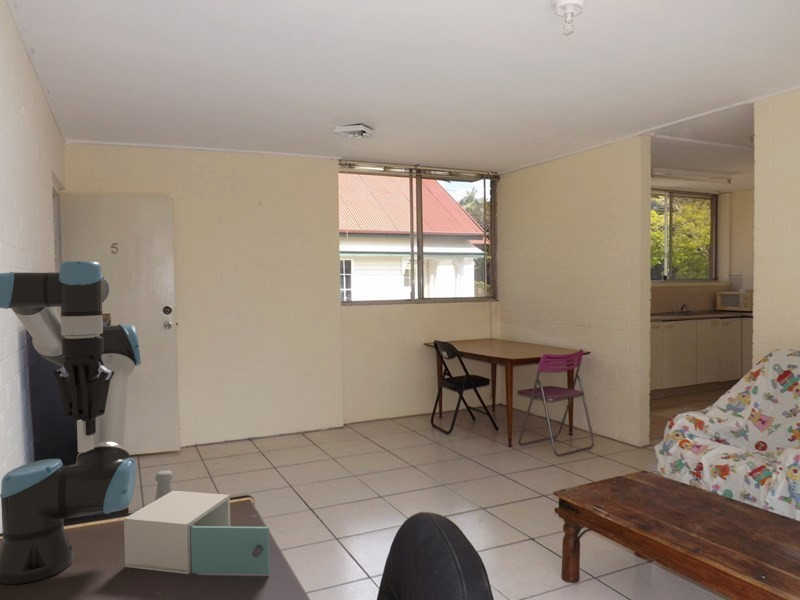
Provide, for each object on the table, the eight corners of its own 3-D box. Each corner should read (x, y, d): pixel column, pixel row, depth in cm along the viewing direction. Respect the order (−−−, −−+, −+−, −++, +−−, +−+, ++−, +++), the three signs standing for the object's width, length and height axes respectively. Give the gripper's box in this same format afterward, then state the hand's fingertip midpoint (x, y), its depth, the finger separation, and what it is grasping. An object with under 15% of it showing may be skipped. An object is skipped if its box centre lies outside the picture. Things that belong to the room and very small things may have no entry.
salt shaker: (162, 514, 160) (161, 467, 160) (180, 515, 159) (179, 468, 158) (149, 522, 154) (147, 474, 154) (168, 524, 153) (167, 475, 153)
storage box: (125, 566, 130) (123, 518, 130) (174, 533, 147) (173, 490, 147) (188, 574, 126) (187, 524, 126) (230, 538, 144) (229, 494, 143)
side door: (192, 569, 127) (190, 524, 127) (270, 570, 126) (269, 525, 126) (184, 578, 123) (183, 532, 123) (265, 579, 122) (264, 532, 122)
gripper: (122, 334, 120) (125, 447, 121) (70, 334, 123) (73, 444, 124) (96, 338, 113) (99, 457, 114) (41, 337, 116) (44, 454, 117)
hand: (85, 450), depth 119 cm, fingers closed
